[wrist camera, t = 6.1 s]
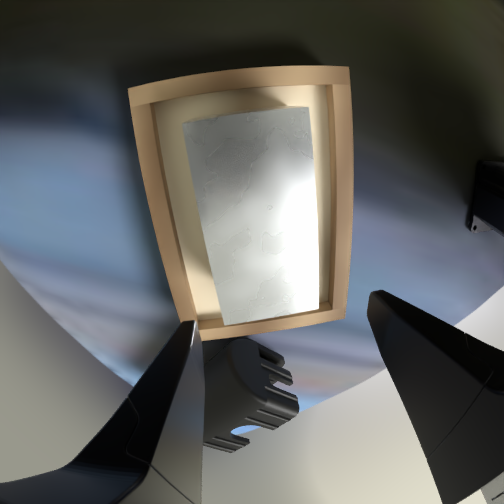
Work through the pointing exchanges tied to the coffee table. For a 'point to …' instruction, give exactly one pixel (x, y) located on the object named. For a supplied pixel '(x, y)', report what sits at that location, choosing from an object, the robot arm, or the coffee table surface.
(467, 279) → the coffee table surface
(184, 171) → the beech stand
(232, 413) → the end cap
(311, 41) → the coffee table surface
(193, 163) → the block
